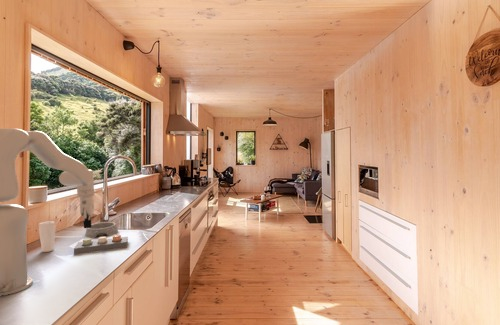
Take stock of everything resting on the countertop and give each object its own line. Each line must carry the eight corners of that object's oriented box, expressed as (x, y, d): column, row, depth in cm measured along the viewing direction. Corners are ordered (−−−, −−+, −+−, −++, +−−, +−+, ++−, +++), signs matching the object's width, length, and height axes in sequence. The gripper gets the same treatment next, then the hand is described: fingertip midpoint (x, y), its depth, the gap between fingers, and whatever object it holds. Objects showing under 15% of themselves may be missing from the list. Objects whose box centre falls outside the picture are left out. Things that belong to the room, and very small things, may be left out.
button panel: (126, 247, 142) (126, 241, 142) (74, 254, 133) (73, 248, 132) (127, 241, 151) (127, 236, 151) (78, 248, 142) (78, 242, 142)
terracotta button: (120, 242, 143) (120, 236, 143) (112, 243, 142) (112, 237, 142) (121, 239, 147) (121, 234, 147) (113, 240, 145) (113, 235, 145)
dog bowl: (118, 234, 166) (118, 226, 166) (84, 239, 157) (83, 230, 157) (117, 228, 181) (117, 220, 181) (85, 232, 172) (85, 224, 172)
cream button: (106, 243, 141) (106, 238, 140) (97, 245, 139) (97, 239, 139) (107, 241, 144) (106, 236, 144) (98, 242, 143) (98, 237, 143)
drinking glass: (47, 253, 134) (46, 224, 134) (36, 252, 136) (35, 223, 135) (59, 248, 141) (58, 221, 141) (48, 248, 142) (47, 220, 142)
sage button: (91, 245, 138) (90, 240, 138) (82, 247, 136) (81, 241, 136) (92, 243, 142) (92, 237, 142) (83, 244, 140) (83, 238, 140)
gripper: (91, 194, 133) (93, 230, 134) (96, 190, 147) (98, 223, 148) (74, 196, 130) (76, 232, 131) (80, 191, 144) (82, 224, 145)
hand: (87, 227), depth 139 cm, fingers closed
